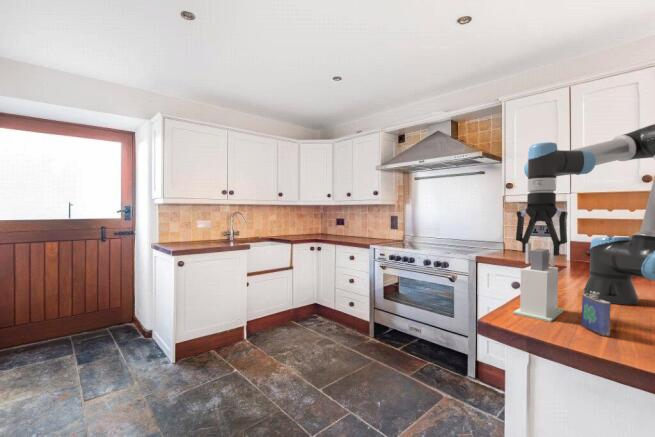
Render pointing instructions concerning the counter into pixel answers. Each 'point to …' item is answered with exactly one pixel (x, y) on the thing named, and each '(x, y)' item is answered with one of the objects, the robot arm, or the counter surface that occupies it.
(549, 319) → the mat
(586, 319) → the flask
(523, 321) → the counter surface
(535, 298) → the off-white upright block
